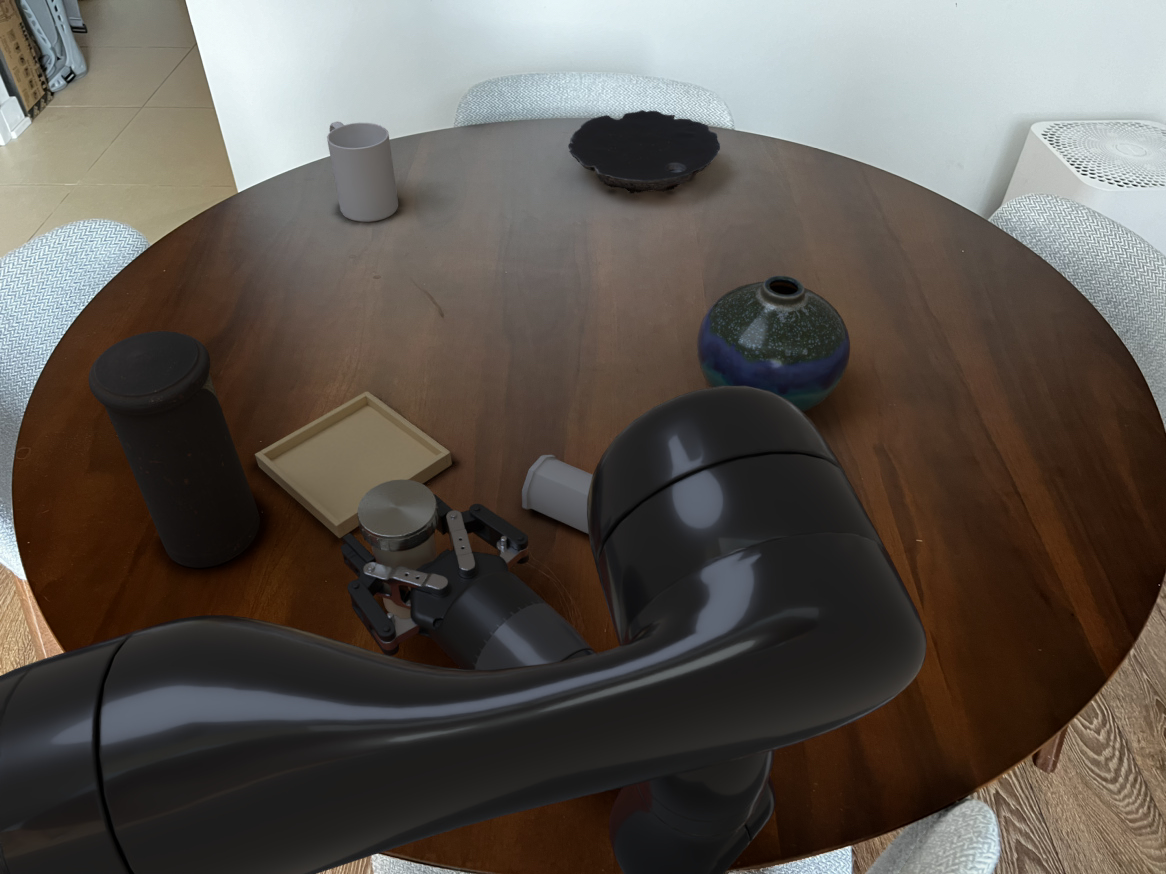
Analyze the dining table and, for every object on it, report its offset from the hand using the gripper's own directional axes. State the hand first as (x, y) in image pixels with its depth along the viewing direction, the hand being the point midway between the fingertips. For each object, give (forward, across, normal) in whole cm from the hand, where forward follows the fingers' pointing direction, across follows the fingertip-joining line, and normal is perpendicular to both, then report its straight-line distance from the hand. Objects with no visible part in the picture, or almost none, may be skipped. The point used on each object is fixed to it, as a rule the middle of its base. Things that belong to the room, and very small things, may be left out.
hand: (383, 521), depth 73 cm
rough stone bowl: (+37, -70, +7) cm, 80 cm away
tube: (-13, -19, +7) cm, 24 cm away
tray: (+14, -5, +7) cm, 17 cm away
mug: (+58, -35, +7) cm, 68 cm away
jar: (-3, 0, +7) cm, 8 cm away
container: (+15, +9, +7) cm, 19 cm away
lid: (-3, 0, -3) cm, 4 cm away
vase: (-6, -43, +7) cm, 44 cm away
